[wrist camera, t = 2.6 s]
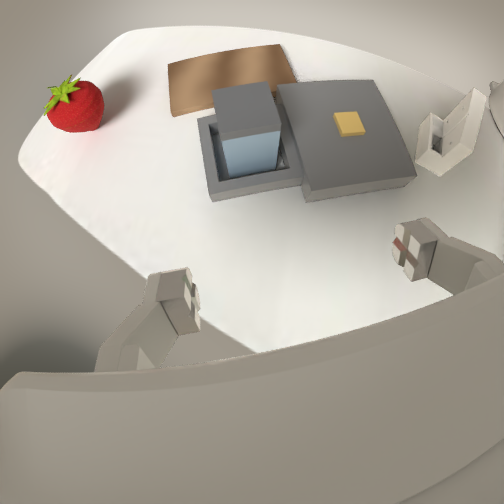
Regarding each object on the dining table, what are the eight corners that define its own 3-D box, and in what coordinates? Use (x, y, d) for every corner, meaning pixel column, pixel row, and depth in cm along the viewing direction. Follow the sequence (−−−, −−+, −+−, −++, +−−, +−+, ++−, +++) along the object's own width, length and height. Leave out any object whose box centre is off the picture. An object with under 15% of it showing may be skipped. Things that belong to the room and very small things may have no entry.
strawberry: (106, 153, 27) (60, 105, 18) (64, 146, 28) (18, 106, 18) (129, 111, 28) (94, 56, 18) (85, 108, 29) (48, 63, 19)
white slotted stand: (452, 106, 25) (486, 96, 17) (430, 174, 29) (462, 182, 21) (429, 92, 25) (459, 77, 17) (406, 161, 29) (434, 164, 21)
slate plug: (265, 132, 27) (267, 81, 19) (275, 170, 27) (281, 123, 19) (222, 140, 27) (211, 90, 19) (230, 178, 27) (219, 134, 19)
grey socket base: (365, 95, 28) (374, 76, 24) (404, 186, 26) (420, 173, 23) (198, 116, 28) (192, 96, 24) (215, 220, 26) (209, 208, 22)
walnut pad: (279, 49, 29) (279, 44, 28) (298, 94, 28) (299, 88, 27) (169, 69, 29) (167, 64, 28) (173, 117, 28) (170, 112, 27)
